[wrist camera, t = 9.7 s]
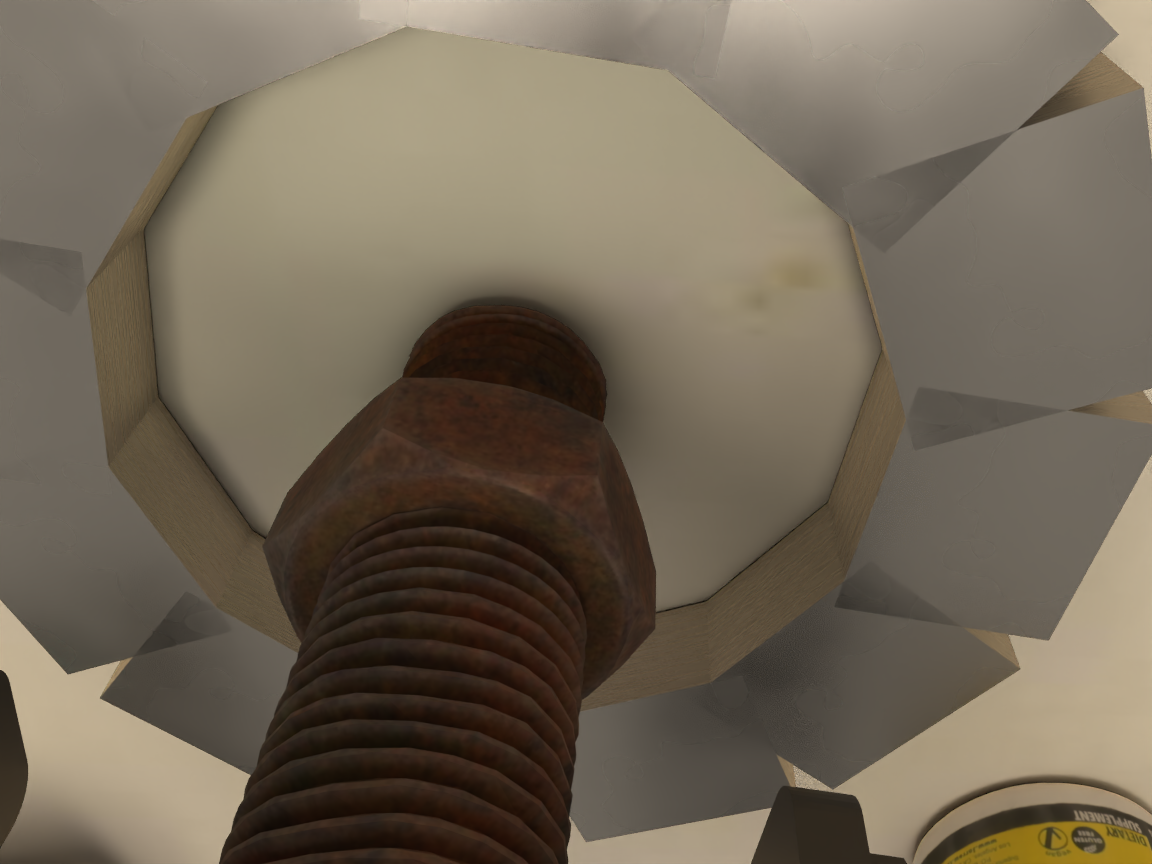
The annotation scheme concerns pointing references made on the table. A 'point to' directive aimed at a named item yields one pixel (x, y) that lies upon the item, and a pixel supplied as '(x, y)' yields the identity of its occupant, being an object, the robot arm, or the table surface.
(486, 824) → the bolt
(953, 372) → the grey segmented ring
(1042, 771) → the table surface
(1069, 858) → the supplement bottle
